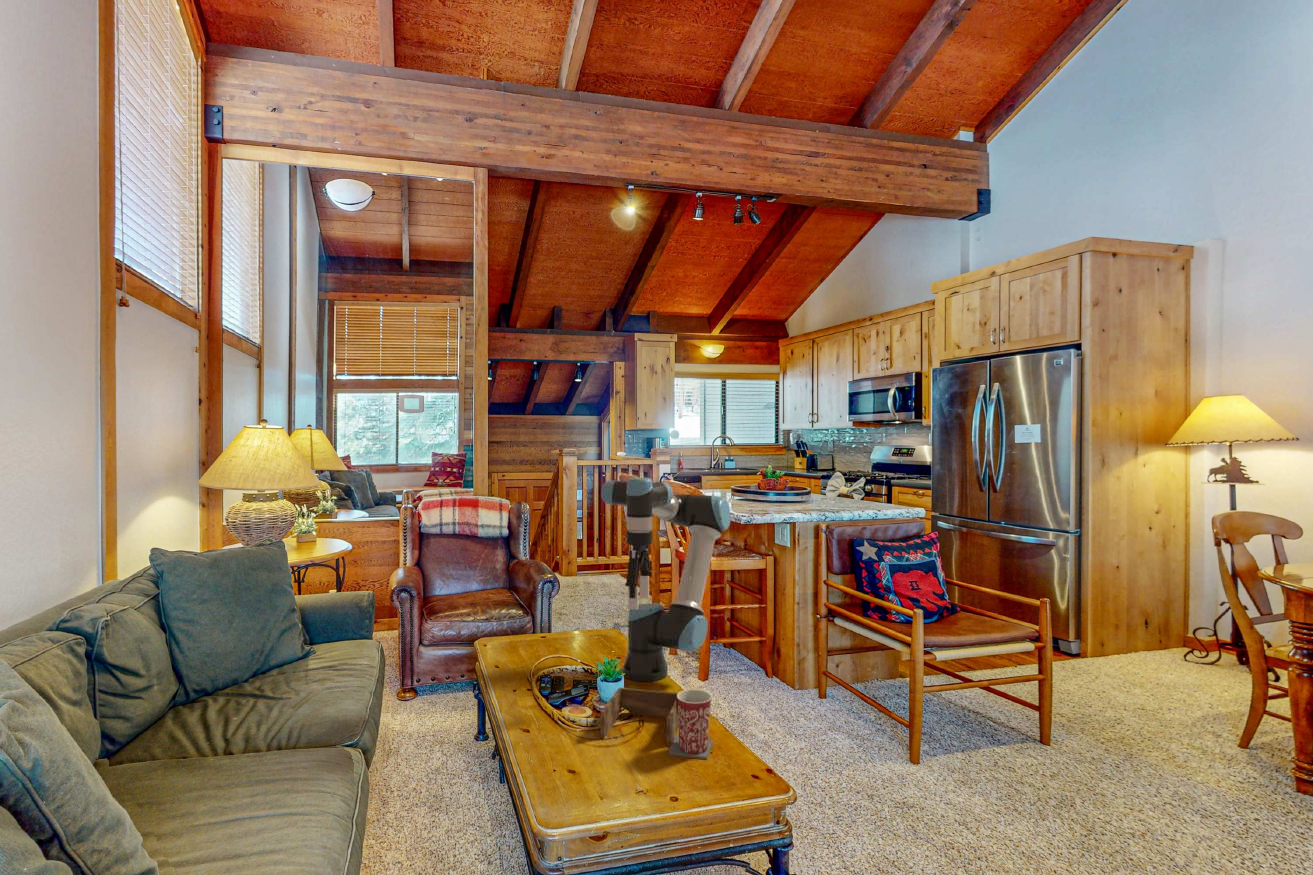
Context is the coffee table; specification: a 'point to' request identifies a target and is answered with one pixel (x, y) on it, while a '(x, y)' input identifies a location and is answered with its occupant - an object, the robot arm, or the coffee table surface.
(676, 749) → the pad
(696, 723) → the mug
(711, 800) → the coffee table surface
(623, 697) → the wooden u-shaped barrier
